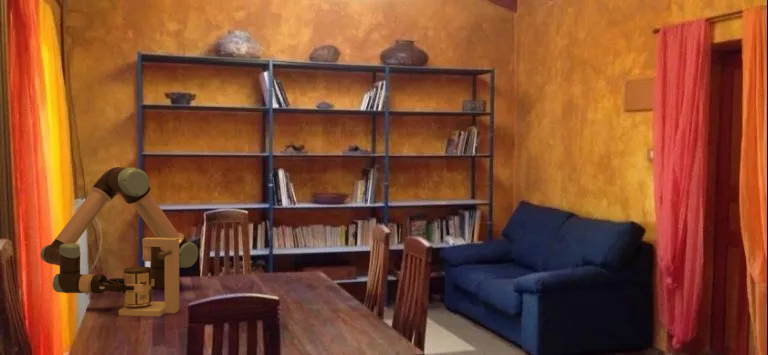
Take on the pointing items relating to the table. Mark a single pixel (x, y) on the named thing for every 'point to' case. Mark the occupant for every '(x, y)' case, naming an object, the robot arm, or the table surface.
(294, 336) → the table surface
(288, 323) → the table surface
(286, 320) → the table surface
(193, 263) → the robot arm
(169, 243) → the press
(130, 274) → the coffee can
